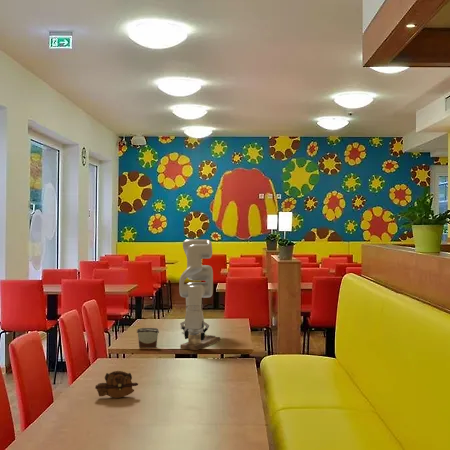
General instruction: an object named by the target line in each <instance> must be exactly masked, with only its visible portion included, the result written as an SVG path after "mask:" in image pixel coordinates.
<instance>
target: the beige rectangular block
mask: <svg viewBox="0 0 450 450" xmlns="http://www.w3.org/2000/svg"><path fill="white" fill-rule="evenodd" d="M187 340H188V341H187V342H188V344H193V345H195V344H198V343H201V333H199V332H194V333H191V334H190V335H188V339H187Z"/></svg>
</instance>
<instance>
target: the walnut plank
mask: <svg viewBox="0 0 450 450" xmlns="http://www.w3.org/2000/svg"><path fill="white" fill-rule="evenodd" d="M220 341H221V337H220V336H216V335H210V334H207V335H205V338H204V340H201V343H198V344H195V345H193V344H188V341H187V342H185V343H182V344H180V350H181V349H182V350H191V351H192V350H193V351H198V350H200V349H203V348H206V347H208V346H211V345H213V344H215V343H218V342H220Z"/></svg>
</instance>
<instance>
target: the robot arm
mask: <svg viewBox="0 0 450 450" xmlns="http://www.w3.org/2000/svg"><path fill="white" fill-rule="evenodd" d="M212 244H213V243H212V241H211V240H210V239H192V238H191V239H185V240H183V242H182V249H183V251H184V254H185V256H186V269H185V270H184V271H183V272H182V273H181V275H180V277H179V280H178V281H179V283H178V284H179V285H178V286H179V289H178V291H179V293H178V294H179V296H180V297H181V298H185V316H184V321H181V322H180V324H179V325H180V330H183V334H184V339H185V340H188V335H190V334H191V333H194V332H199V333H201V340H204V338H205V336H206V332H207V331H208V329H209V328H210V324H209V323H207V322H205V318H204V317H205V316H204V311H203V310H202V302H203V301H202V298H211V297H212V296H213V293H214V270H213V267H212V266H211V265H208V264H207V265H206V264H203V260H204V259H208V260H209V259H211V258H212V257H213V245H212ZM187 279H188V280H190V282H188V283H185V280H187ZM202 281H203V282H202Z"/></svg>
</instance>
